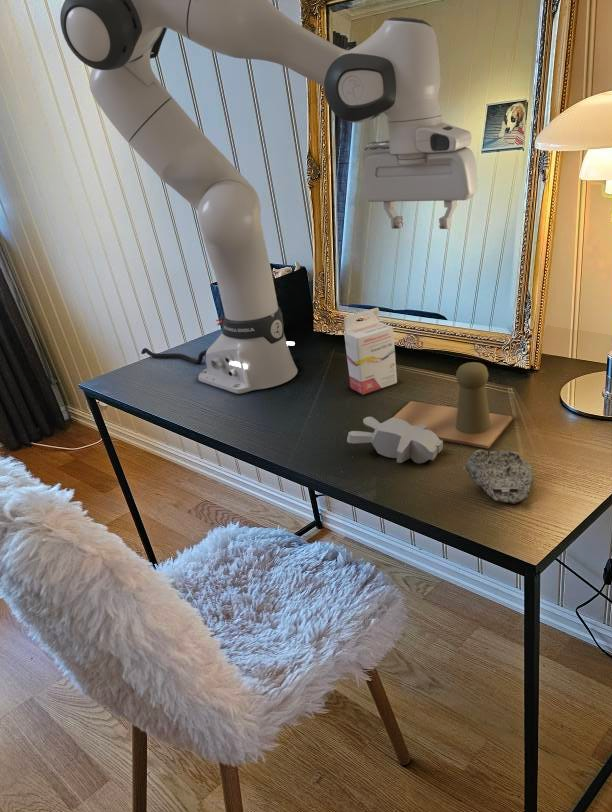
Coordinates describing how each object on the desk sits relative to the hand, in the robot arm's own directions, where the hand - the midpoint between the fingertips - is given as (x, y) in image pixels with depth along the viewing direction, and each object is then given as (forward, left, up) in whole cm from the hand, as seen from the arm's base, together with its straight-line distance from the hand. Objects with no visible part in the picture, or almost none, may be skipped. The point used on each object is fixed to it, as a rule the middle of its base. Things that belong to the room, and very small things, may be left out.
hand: (420, 228), depth 114 cm
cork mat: (+11, -15, -29) cm, 35 cm away
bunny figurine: (+7, -27, -29) cm, 41 cm away
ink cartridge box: (-10, -5, -29) cm, 31 cm away
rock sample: (+28, -31, -29) cm, 51 cm away
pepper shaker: (+16, -15, -29) cm, 36 cm away
